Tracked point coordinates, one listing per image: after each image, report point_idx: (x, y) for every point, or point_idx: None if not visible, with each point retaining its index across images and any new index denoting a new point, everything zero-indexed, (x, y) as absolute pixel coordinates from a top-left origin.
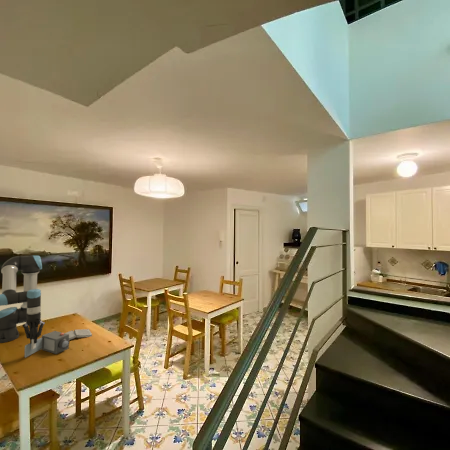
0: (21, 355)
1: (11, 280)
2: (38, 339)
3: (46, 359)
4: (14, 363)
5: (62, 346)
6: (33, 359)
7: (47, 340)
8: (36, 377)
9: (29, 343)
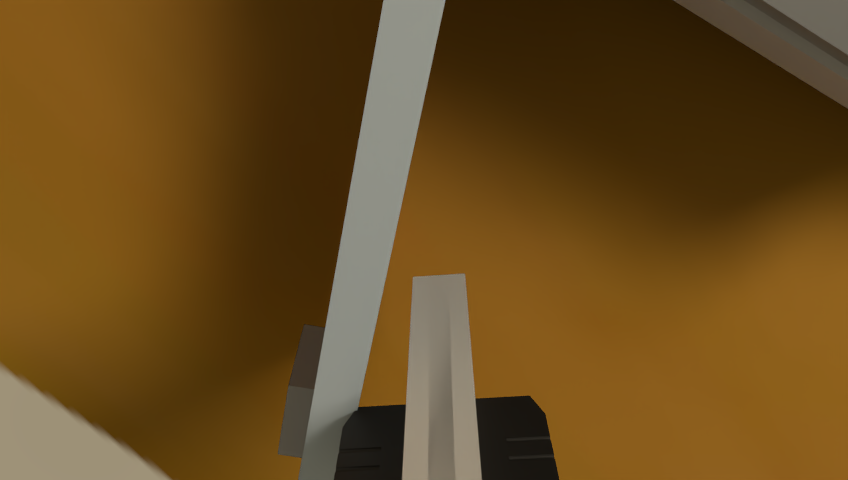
0: (100, 141)
1: None
2: (409, 123)
3: (776, 343)
4: (255, 435)
5: None
6: (513, 327)
7: (759, 33)
8: None
9: (309, 449)
